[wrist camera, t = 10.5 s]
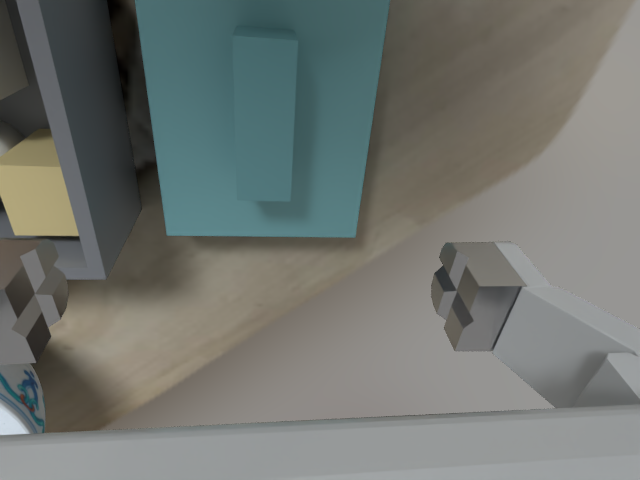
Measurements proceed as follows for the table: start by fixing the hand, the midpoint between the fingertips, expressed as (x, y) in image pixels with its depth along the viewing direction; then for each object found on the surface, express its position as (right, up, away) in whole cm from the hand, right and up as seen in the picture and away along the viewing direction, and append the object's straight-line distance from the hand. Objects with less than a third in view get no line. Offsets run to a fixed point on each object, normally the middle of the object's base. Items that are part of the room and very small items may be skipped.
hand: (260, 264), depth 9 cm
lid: (-2, +8, +14) cm, 16 cm away
